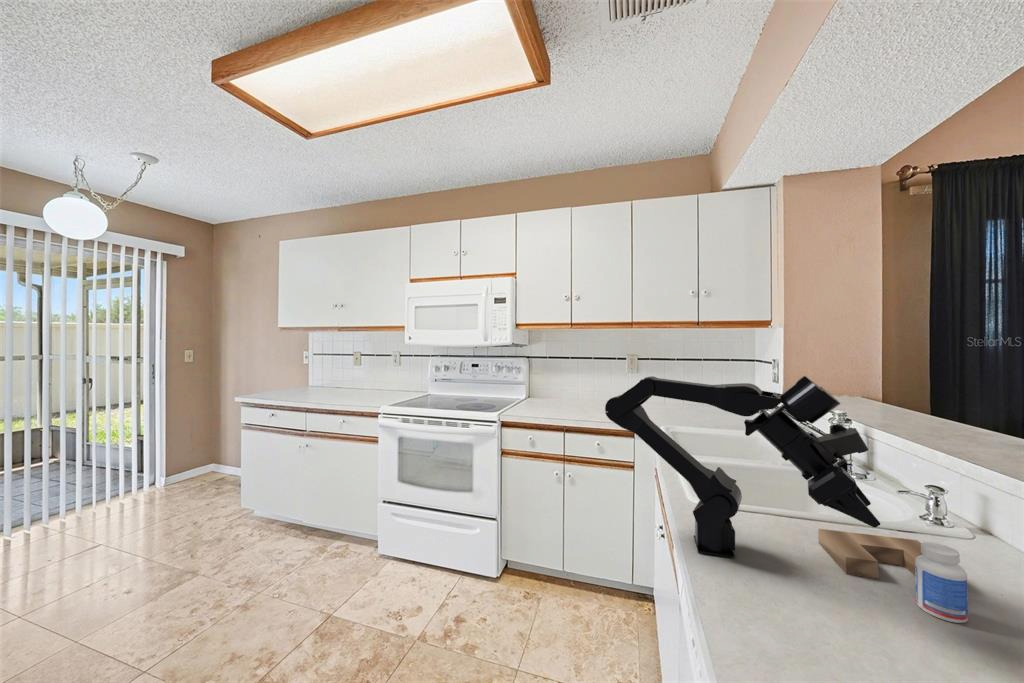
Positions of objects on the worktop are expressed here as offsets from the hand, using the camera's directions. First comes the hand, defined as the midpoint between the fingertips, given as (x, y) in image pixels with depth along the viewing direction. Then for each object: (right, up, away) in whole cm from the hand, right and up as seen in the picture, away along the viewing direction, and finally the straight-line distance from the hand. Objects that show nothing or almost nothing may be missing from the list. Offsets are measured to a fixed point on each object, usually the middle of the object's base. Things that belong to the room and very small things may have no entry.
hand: (872, 514), depth 64 cm
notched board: (+9, -13, +8) cm, 18 cm away
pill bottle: (+6, -13, -5) cm, 15 cm away
